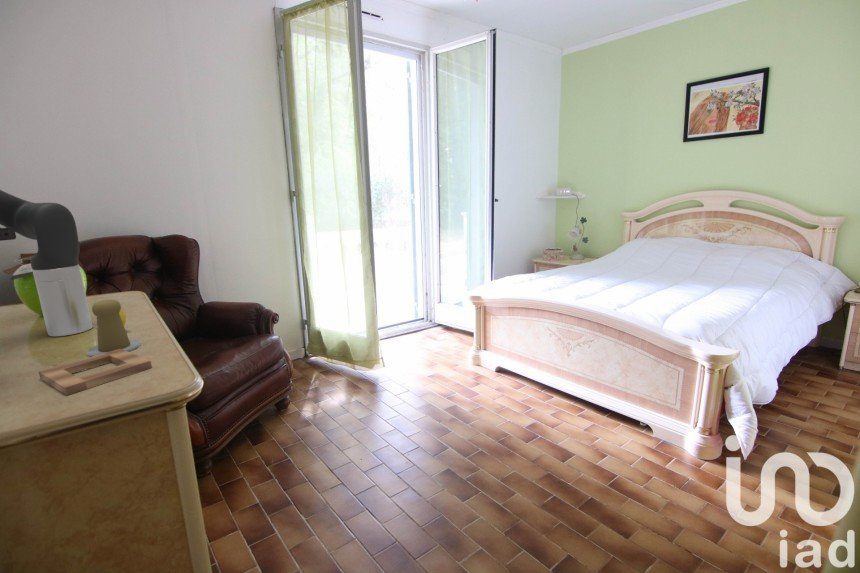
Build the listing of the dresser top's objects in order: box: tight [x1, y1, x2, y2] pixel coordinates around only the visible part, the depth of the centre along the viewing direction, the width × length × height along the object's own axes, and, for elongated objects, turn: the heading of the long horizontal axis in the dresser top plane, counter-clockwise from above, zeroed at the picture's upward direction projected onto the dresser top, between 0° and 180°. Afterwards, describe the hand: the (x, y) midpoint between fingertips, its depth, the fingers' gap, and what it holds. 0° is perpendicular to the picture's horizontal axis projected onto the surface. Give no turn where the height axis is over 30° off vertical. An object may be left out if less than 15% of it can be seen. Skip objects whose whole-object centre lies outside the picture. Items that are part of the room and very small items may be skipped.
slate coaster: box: [86, 338, 142, 357], centre depth 100 cm, size 10×10×1 cm
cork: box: [91, 299, 130, 352], centre depth 98 cm, size 6×6×11 cm
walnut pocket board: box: [38, 349, 153, 396], centre depth 86 cm, size 14×14×2 cm
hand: (8, 232), depth 83 cm, fingers open, 8 cm apart
